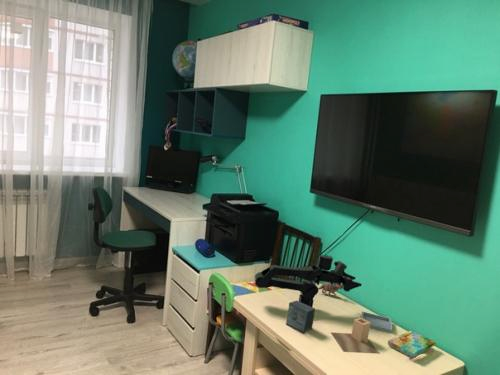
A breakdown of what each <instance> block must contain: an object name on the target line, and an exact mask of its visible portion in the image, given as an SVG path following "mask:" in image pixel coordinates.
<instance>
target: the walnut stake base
mask: <svg viewBox="0 0 500 375" xmlns="http://www.w3.org/2000/svg"><path fill="white" fill-rule="evenodd" d="M330 334H331V335H332V337H333V339H334V340H335V341H336V343H337V344H338V346H339V347H340V348H341V350H342V351H343V353H361V354H362V353H363V354H364V353H365V354H379V355H380V354H381V352H380V351H379V350H378V349H377V348H376V347H375V345H374V344H373V343H372V342H371V340H370V339H368V343H365V342H363V341H362V342H359V341H357V340H356V339H354V338H352V337H351V335H352V333H347V332H330Z"/></svg>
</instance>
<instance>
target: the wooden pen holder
mask: <svg viewBox="0 0 500 375" xmlns="http://www.w3.org/2000/svg"><path fill="white" fill-rule="evenodd" d="M370 324H371V323H370V322H368V321H366V320H365V319H363V318H361V317H359V318H355V319H353V325H352V329H351V334H352V335H351V337H352V338H354V339H356V340H357V341H359V342H362V341H363V342H365V343H368V340H369V334H370V329H371V328H370Z"/></svg>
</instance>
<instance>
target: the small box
mask: <svg viewBox="0 0 500 375" xmlns="http://www.w3.org/2000/svg"><path fill="white" fill-rule="evenodd" d="M315 312H316V308H314V307H310V306H308V305H306V304H303V303H301V302H299V300H295V301H291V302H289V303H288V310H287V316H286V322H285V325H286V326H288V327H290V328H292V329H294V330H296V331H298V332H300V333H301V334H303V335H304V334H306V333H307V331H310V330H312V329H313V323H314V319H315Z"/></svg>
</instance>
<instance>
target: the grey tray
mask: <svg viewBox="0 0 500 375" xmlns="http://www.w3.org/2000/svg"><path fill="white" fill-rule="evenodd" d="M360 318H363V319H365V320H366V321H368V322H370V323H371V324H370V329H373V330H378V331H382V332H385V333H386V332H387V333H390V334H392V333H393V324H392V323H393V322H392V318H390V317H387V316H383V315H380V314H375V313H371V312H366V311H361V315H360Z"/></svg>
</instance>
